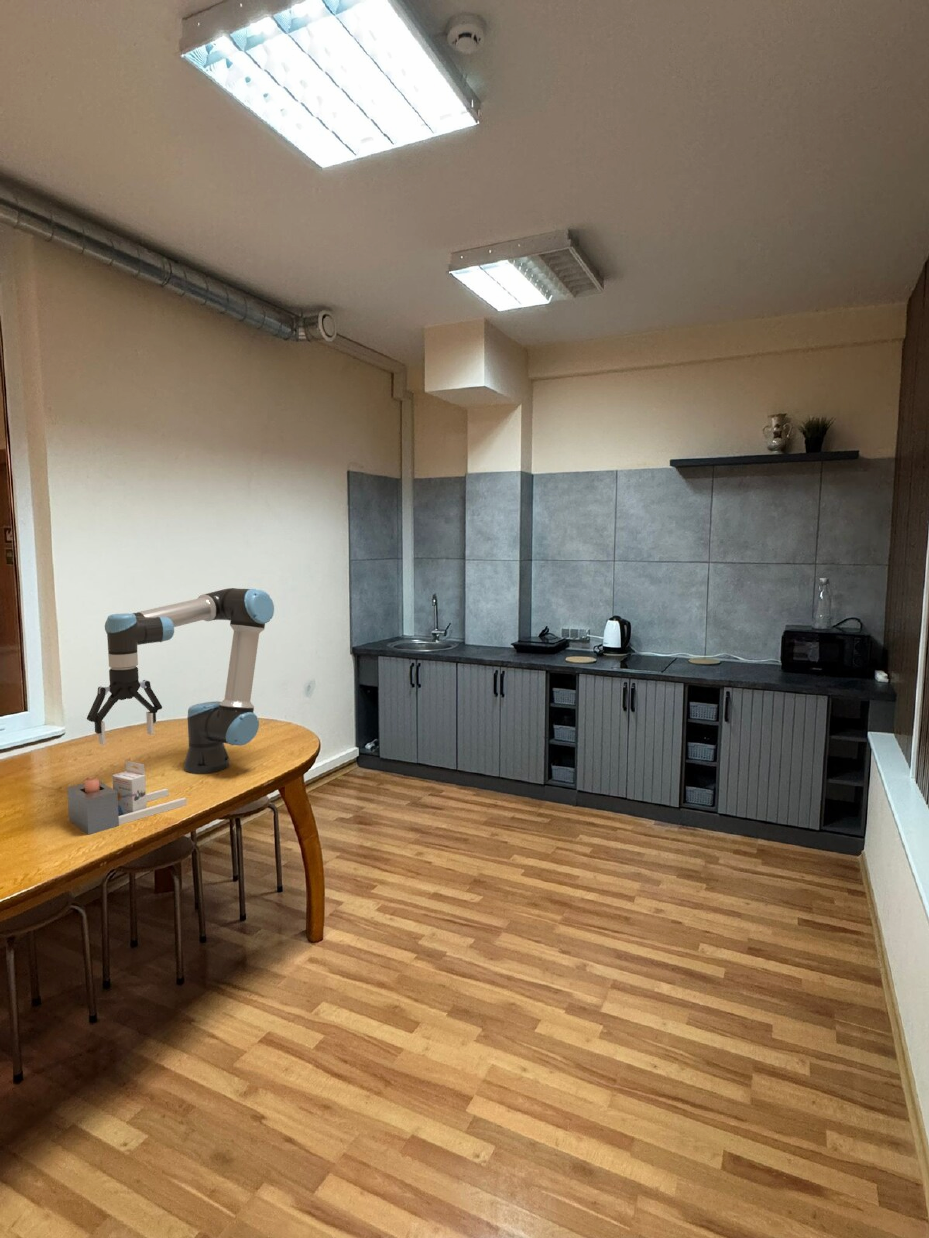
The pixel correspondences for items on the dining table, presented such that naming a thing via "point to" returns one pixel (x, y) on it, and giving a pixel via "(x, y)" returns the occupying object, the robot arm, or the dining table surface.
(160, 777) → the dining table surface
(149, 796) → the rail track
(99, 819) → the grey rectangular block
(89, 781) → the gauge plunger
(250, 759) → the dining table surface
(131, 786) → the ink box
